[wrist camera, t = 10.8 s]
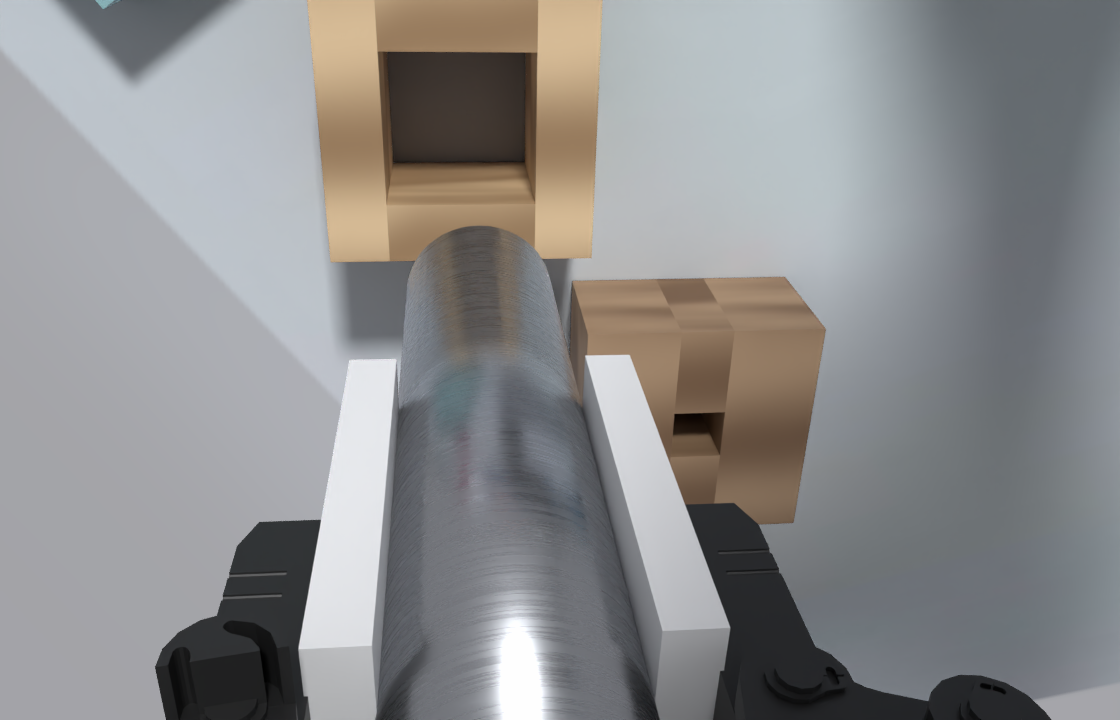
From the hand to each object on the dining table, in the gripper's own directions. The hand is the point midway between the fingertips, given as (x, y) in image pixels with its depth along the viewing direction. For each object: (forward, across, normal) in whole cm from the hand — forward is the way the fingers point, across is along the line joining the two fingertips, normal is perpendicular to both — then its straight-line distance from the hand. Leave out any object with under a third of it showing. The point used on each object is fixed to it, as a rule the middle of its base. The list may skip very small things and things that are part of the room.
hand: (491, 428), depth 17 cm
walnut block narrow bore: (+23, +9, -11) cm, 27 cm away
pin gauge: (+6, 0, 0) cm, 6 cm away
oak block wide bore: (+23, 0, +1) cm, 23 cm away
